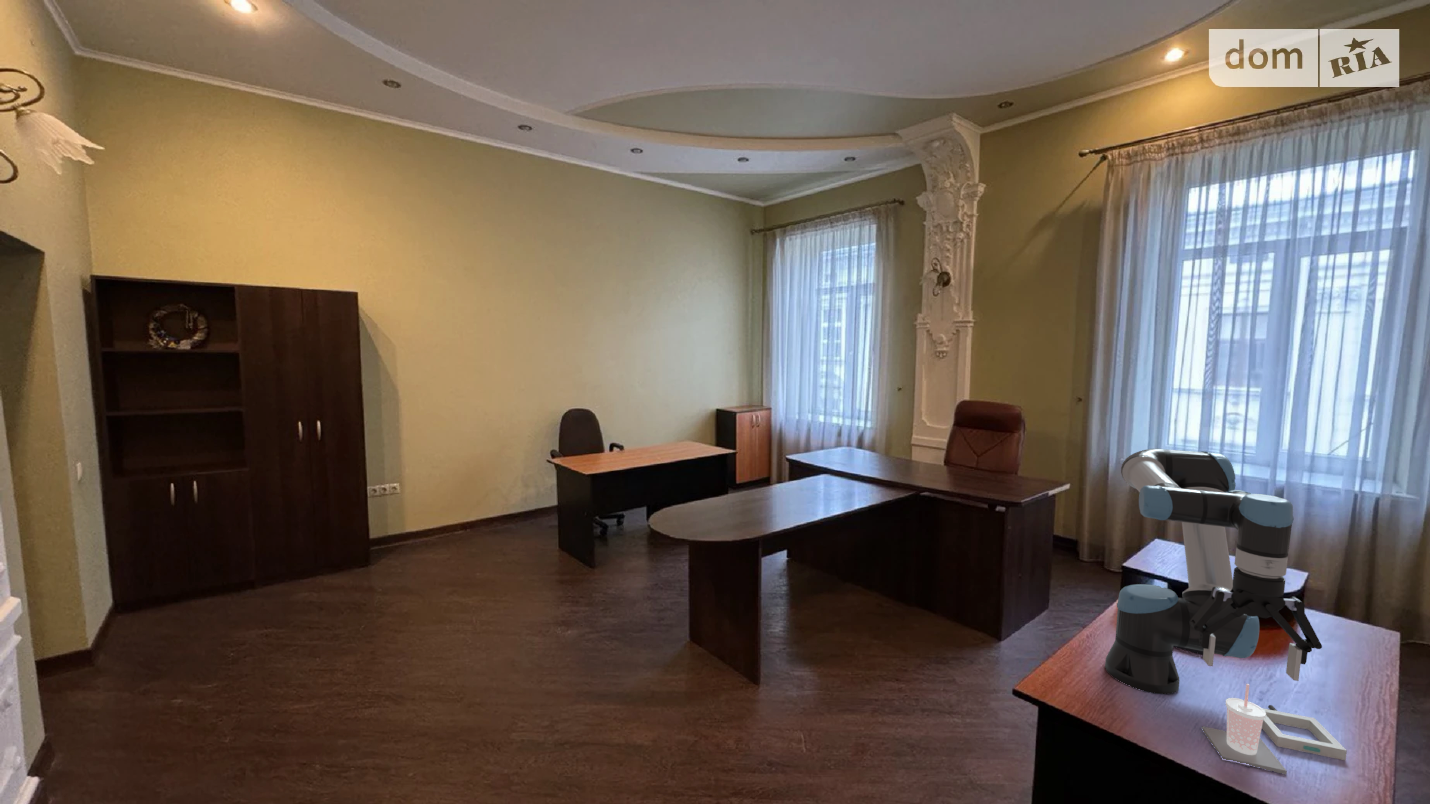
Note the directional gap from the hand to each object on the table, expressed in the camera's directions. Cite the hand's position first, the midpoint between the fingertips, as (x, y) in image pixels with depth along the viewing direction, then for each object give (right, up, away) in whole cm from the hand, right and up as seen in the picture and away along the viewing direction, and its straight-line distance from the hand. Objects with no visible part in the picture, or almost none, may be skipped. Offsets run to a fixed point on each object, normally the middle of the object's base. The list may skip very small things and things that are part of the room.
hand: (1248, 669), depth 115 cm
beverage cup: (0, -17, +1) cm, 17 cm away
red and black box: (+25, -14, +47) cm, 55 cm away
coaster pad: (0, -18, +1) cm, 18 cm away
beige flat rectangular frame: (+16, -17, +8) cm, 25 cm away
